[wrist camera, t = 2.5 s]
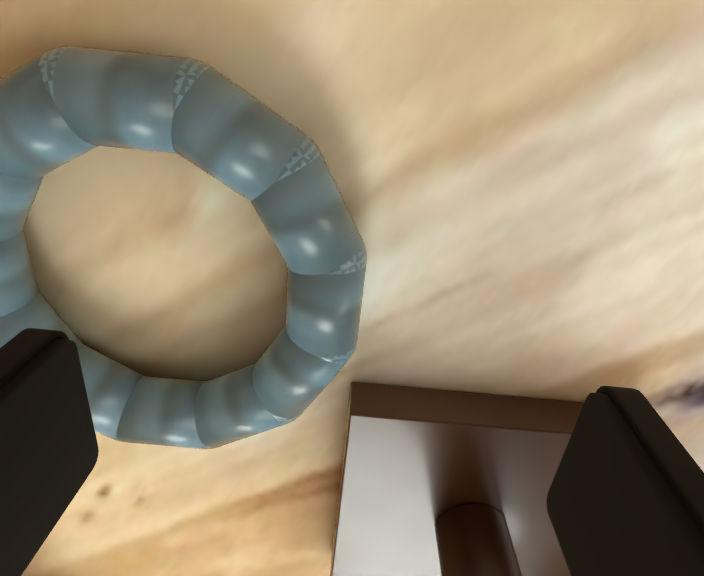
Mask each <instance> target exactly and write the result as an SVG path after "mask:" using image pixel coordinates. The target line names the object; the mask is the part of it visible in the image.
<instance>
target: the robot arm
mask: <svg viewBox="0 0 704 576" xmlns="http://www.w3.org/2000/svg"><path fill="white" fill-rule="evenodd" d="M97 457H98V444H97V440H96V435H95V430H94V425H93V421H92V416H91V411H90V406H89V401H88V397H87V392H86V387H85V382H84V378H83V373H82V368H81V363H80V359H79V354H78V349H77V346H76V343H75V342H74V341H72V340H69V338H68V336H67V335H66V333H65V332H62V331H57V330H47V329H37V328H26V329H24V330H23V331H21V332H20V333H18V334H17V335H16V336H15V337H13V338H12V339H11V340H10V341H8V342H7V343H6V344H5V345H3V346H2V347H1V348H0V576H21V575H22V574H23V572H24V571H25V569H26V568H27V566H28V565H29V563H30V562H31V560H32V559H33V557H34V556H35V554H36V553H37V551H38V550H39V548H40V547H41V545H42V544H43V542H44V541H45V539H46V538H47V536H48V535H49V533H50V532H51V531H52V529H53V528H54V526H55V525H56V523H57V522H58V520H59V519H60V517H61V516H62V514H63V513H64V511H65V510H66V508H67V507H68V505H69V504H70V502H71V501H72V499H73V498H74V496H75V495H76V493H77V492H78V490H79V489H80V487H81V486H82V485H83V483H84V482H85V480H86V479H87V477H88V476H89V474H90V473H91V471H92V470H93V468H94V466H95V464H96V461H97ZM547 511H548V515H549V518H550V520H551V523H552V526H553V528H554V531H555V534H556V536H557V539H558V542H559V545H560V547H561V550H562V553H563V555H564V558H565V561H566V563H567V566H568V569H569V571H570V574H571V576H704V473H703V471H702V470H701V469H700V467H699V466H698V465H697V464H696V462H695V461H694V460H693V458H692V457H691V456H690V455H689V453H688V452H687V451H686V449H685V448H684V447H683V446H682V444H681V443H680V442H679V440H678V439H677V438H676V436H675V435H674V434H673V433H672V431H671V430H670V429H669V427H668V426H667V425H666V424H665V422H664V421H663V420H662V418H661V417H660V416H659V415H658V413H657V412H656V411H655V409H654V408H653V407H652V406H651V404H650V403H649V402H648V400H647V399H646V398H645V397H644V395H643V394H642V393H641V392H640V391H639V390H636V389H632V388H622V387H612V386H601V387H600V388H599V389H598V390H597V391H596V393H590V394H589V395H588V396H587V398H586V400H585V402H584V405H583V407H582V410H581V412H580V415H579V417H578V419H577V422H576V424H575V427H574V429H573V432H572V434H571V437H570V439H569V442H568V444H567V447H566V449H565V452H564V454H563V457H562V459H561V462H560V464H559V466H558V469H557V471H556V474H555V476H554V479H553V481H552V484H551V486H550V489H549V491H548V494H547Z"/></svg>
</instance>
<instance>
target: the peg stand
mask: <svg viewBox="0 0 704 576" xmlns="http://www.w3.org/2000/svg"><path fill="white" fill-rule="evenodd" d="M583 405H584V403H576V402H565V401H554V400H543V399H532V398H521V397H510V396H499V395H487V394H476V393H465V392H454V391H443V390H432V389H421V388H410V387H398V386H387V385H376V384H365V383H354V382H353V383H351V388H350V397H349V406H348V415H347V424H346V433H345V441H344V450H343V459H342V468H341V477H340V486H339V495H338V504H337V512H336V521H335V530H334V539H333V548H332V557H331V571H330V576H571V574H570V571H569V569H568V566H567V563H566V561H565V558H564V555H563V553H562V550H561V547H560V545H559V542H558V539H557V536H556V534H555V531H554V528H553V526H552V523H551V520H550V518H549V515H548V511H547V494H548V491H549V489H550V486H551V484H552V481H553V479H554V476H555V474H556V471H557V469H558V466H559V464H560V462H561V459H562V457H563V454H564V452H565V449H566V447H567V444H568V442H569V439H570V437H571V434H572V432H573V429H574V427H575V424H576V422H577V419H578V417H579V415H580V412H581V410H582V407H583Z"/></svg>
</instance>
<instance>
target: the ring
mask: <svg viewBox="0 0 704 576" xmlns="http://www.w3.org/2000/svg"><path fill="white" fill-rule="evenodd" d="M96 146H108V147H119V148H129V149H139V150H150V151H160V152H170V153H177V154H179V155H180V156H182V157H184V158H185V159H187V160H188V161H190V162H191V163H193V164H194V165H196V166H197V167H199V168H200V169H202V170H203V171H205V172H207V173H208V174H210V175H211V176H213V177H214V178H216V179H217V180H219V181H220V182H222V183H223V184H225V185H226V186H228V187H230V188H231V189H233V190H234V191H236V192H237V193H239V194H240V195H242V196H243V197H245V198H246V199H248V200H250V201H251V203H252V205H253V207H254V208H255V210H256V212H257V214H258V215H259V217H260V219H261V221H262V222H263V224H264V226H265V228H266V229H267V231H268V233H269V235H270V236H271V238H272V240H273V242H274V243H275V245H276V247H277V249H278V250H279V252H280V254H281V256H282V257H283V259H284V261H285V263H286V264H287V266H288V277H287V310H286V325H285V326H284V327H283V329H282V330H281V331H280V333H279V334H278V335H277V337H276V338H275V339H274V340H273V342H272V343H271V344H270V346H269V347H268V348H267V350H266V351H265V352H264V354H263V355H262V356H261V358H260V359H259V360H258V362H257V363H254V364H252V365H249V366H247V367H244V368H241V369H239V370H236V371H233V372H231V373H228V374H225V375H223V376H220V377H218V378H215V379H212V380H210V381H207V382H205V381H194V380H183V379H171V378H160V377H149V376H143V375H142V374H140V373H138V372H136V371H134V370H132V369H130V368H128V367H126V366H124V365H122V364H120V363H118V362H116V361H114V360H112V359H110V358H108V357H107V356H105V355H103V354H101V353H99V352H97V351H95V350H93V349H91V348H89V347H87V346H85V345H83V344H82V342H81V341H80V340H79V339H78V338H77V337H76V335H75V334H74V333H73V332H72V331H71V330H70V328H69V327H68V326H67V325H66V324H65V323H64V321H63V320H62V319H61V318H60V317H59V316H58V314H57V313H56V312H55V311H54V310H53V308H52V307H51V306H50V305H49V304H48V303H47V301H46V300H45V299H44V298H43V297H42V296H41V294H40V293H39V292H38V290H37V286H36V282H35V278H34V274H33V270H32V265H31V261H30V257H29V253H28V249H27V245H26V241H25V237H24V233H23V226H24V224H25V221H26V218H27V216H28V213H29V211H30V208H31V206H32V203H33V201H34V198H35V196H36V193H37V191H38V188H39V186H40V183H41V180H42V178H43V175H44V174H46V173H48V172H50V171H52V170H54V169H56V168H57V167H59V166H61V165H63V164H65V163H67V162H69V161H70V160H72V159H74V158H76V157H78V156H80V155H81V154H83V153H85V152H87V151H89V150H91V149H93V148H94V147H96ZM366 258H367V254H366V248H365V244H364V242H363V239H362V237H361V235H360V233H359V231H358V229H357V227H356V225H355V223H354V221H353V219H352V217H351V214H350V212H349V210H348V208H347V206H346V204H345V202H344V200H343V198H342V196H341V194H340V192H339V190H338V187H337V185H336V183H335V181H334V179H333V177H332V175H331V173H330V171H329V169H328V167H327V165H326V163H325V160H324V158H323V156H322V154H321V152H320V150H319V149H318V147H317V145H316V144H315V143H314V142H313V140H312V139H311V138H310V137H308V136H307V135H306V134H304V133H303V132H302V131H300V130H299V129H297V128H296V127H295V126H293V125H292V124H290V123H289V122H288V121H286V120H285V119H283V118H282V117H281V116H279V115H278V114H276V113H275V112H274V111H272V110H271V109H269V108H268V107H267V106H265V105H264V104H262V103H261V102H260V101H258V100H257V99H255V98H254V97H253V96H251V95H250V94H248V93H247V92H246V91H244V90H243V89H241V88H240V87H239V86H237V85H236V84H234V83H233V82H232V81H230V80H229V79H227V78H226V77H225V76H223V75H222V74H220V73H219V72H218V71H216V70H215V69H214V68H212V67H210V66H209V65H207V64H205V63H203V62H201V61H198V60H194V59H189V58H180V57H171V56H161V55H151V54H141V53H131V52H121V51H111V50H101V49H91V48H81V47H67V46H66V47H60V48H55V49H52V50H49V51H47V52H45V53H43V54H42V55H40V56H38V57H37V58H35V59H33V60H32V61H30V62H29V63H27V64H25V65H24V66H22V67H20V68H19V69H17V70H15V71H14V72H12V73H11V74H9V75H7V76H6V77H4V78H2V79H1V80H0V348H1V347H2V346H3V345H5V344H6V343H7V342H8V341H10V340H11V339H12V338H13V337H15V336H16V335H17V334H18V333H20V332H21V331H23V330H24V329H26V328H37V329H47V330H57V331H62V332H65V333H66V335H67V336H68V338H69V340H72V341H74V342H75V343H76V346H77V349H78V354H79V359H80V363H81V368H82V373H83V378H84V382H85V387H86V392H87V397H88V401H89V406H90V411H91V416H92V421H93V425H94V430H95V431H96V432H98V433H100V434H103V435H105V436H107V437H109V438H111V439H114V440H117V441H122V442H130V443H141V444H153V445H164V446H176V447H187V448H199V449H212V448H217V447H220V446H223V445H226V444H229V443H231V442H234V441H237V440H240V439H243V438H246V437H249V436H252V435H255V434H258V433H261V432H264V431H267V430H270V429H273V428H275V427H278V426H281V425H284V424H287V423H289V422H291V421H294V420H295V419H296V418H298V417H299V416H300V415H301V414H302V413H303V412H304V411H305V410H306V408H307V407H308V406H309V405H310V404H311V403H312V401H313V400H314V399H315V398H316V397H317V396H318V395H319V393H320V392H321V391H322V390H323V389H324V388H325V387H326V385H327V384H328V383H329V382H330V381H331V380H332V378H333V377H334V376H335V375H336V374H337V373H338V372H339V370H340V369H341V368H342V367H343V366H344V365H345V364H346V362H347V361H348V360H349V359H350V358H351V356H352V354H353V353H354V350H355V348H356V344H357V339H358V330H359V321H360V313H361V304H362V295H363V287H364V278H365V269H366Z"/></svg>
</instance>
